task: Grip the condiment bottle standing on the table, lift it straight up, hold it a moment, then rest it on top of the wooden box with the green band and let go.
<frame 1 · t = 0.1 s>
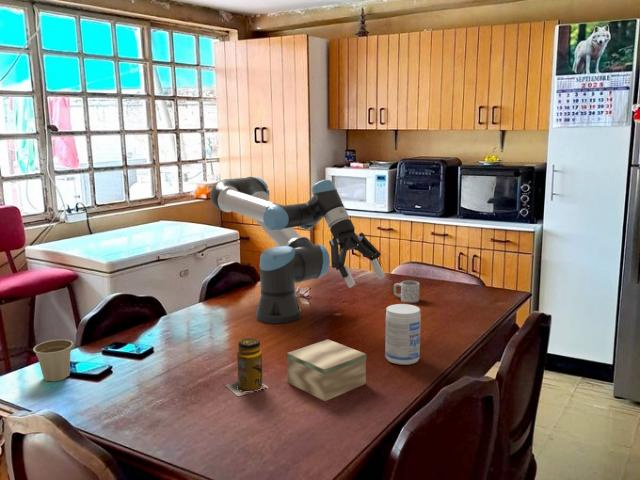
hand: (367, 282, 187), 15 cm above the table, tool tilted 35°, fingers open, 13 cm apart
supplement tub: (402, 359, 165), on the table
mug: (405, 300, 220), on the table
wooden box: (326, 383, 150), on the table
condiment: (247, 388, 148), on the table
flower pot: (56, 377, 154), on the table
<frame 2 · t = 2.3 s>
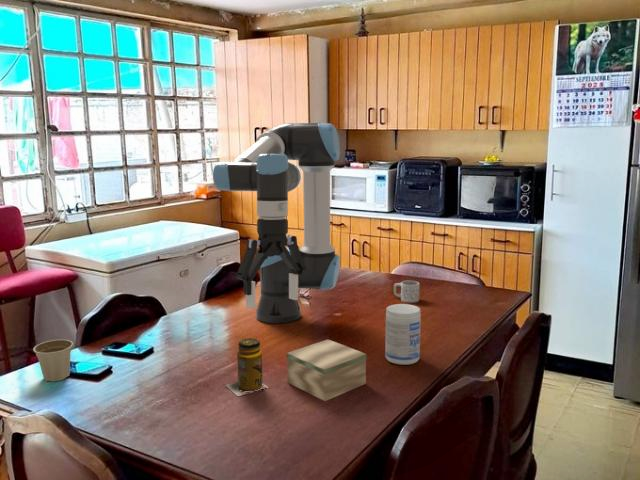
hand: (272, 303, 146), 21 cm above the table, tool pointing down, fingers open, 13 cm apart
nothing on the table moved.
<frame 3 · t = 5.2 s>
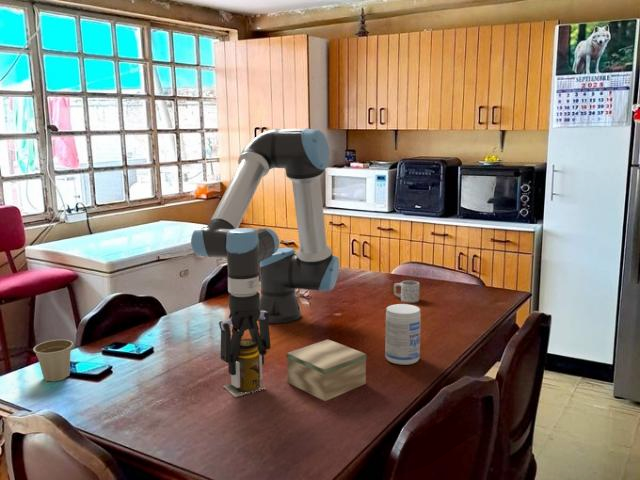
hand: (247, 381, 148), 1 cm above the table, tool pointing down, fingers closed on condiment, 6 cm apart
condiment: (244, 388, 147), on the table, touching gripper
everything else where it was.
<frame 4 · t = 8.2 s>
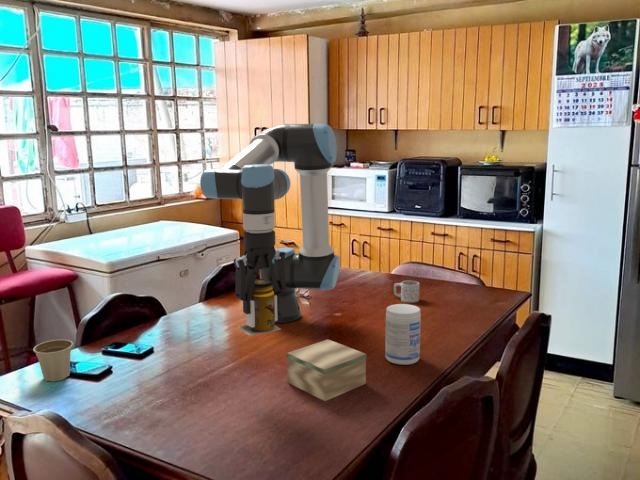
hand: (261, 322, 145), 17 cm above the table, tool pointing down, fingers closed on condiment, 6 cm apart
condiment: (259, 329, 145), point 15 cm above the table, touching gripper
everything else where it was.
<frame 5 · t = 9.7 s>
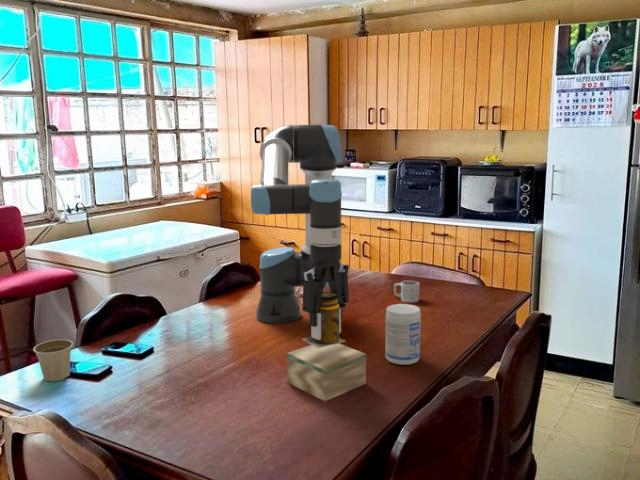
hand: (326, 334, 147), 13 cm above the table, tool pointing down, fingers closed on condiment, 6 cm apart
condiment: (323, 341, 147), point 11 cm above the table, touching gripper
everything else where it was.
when the fingers open (11 cm above the table, at t = 10.8 s): condiment drops 1 cm, resting on wooden box.
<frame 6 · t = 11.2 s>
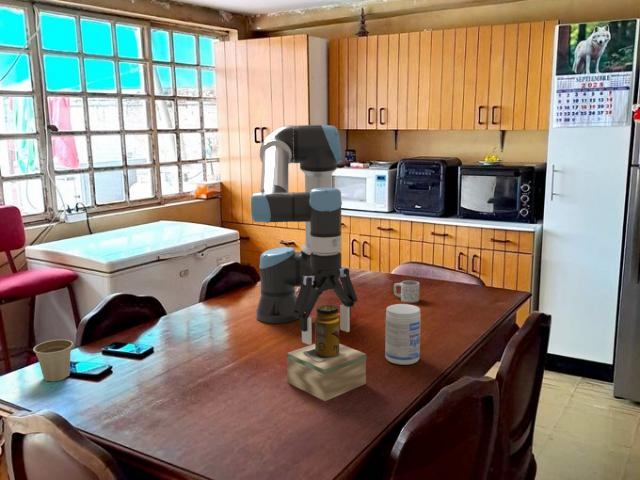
hand: (326, 336, 147), 12 cm above the table, tool pointing down, fingers open, 12 cm apart
condiment: (324, 355, 148), point 8 cm above the table, touching wooden box
everything else where it was.
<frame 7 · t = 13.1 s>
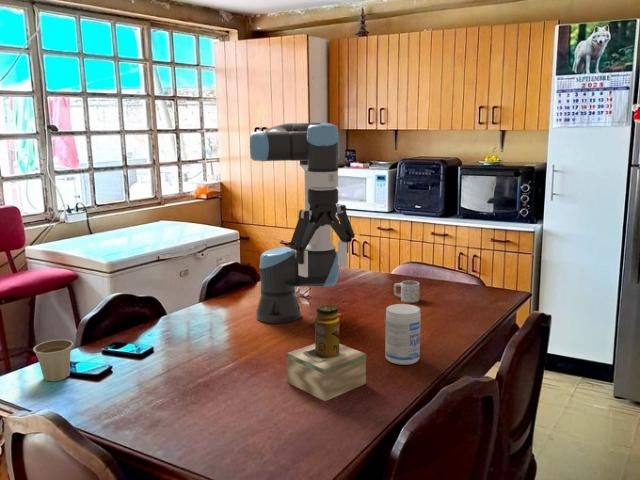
hand: (323, 271, 151), 28 cm above the table, tool pointing down, fingers open, 13 cm apart
nothing on the table moved.
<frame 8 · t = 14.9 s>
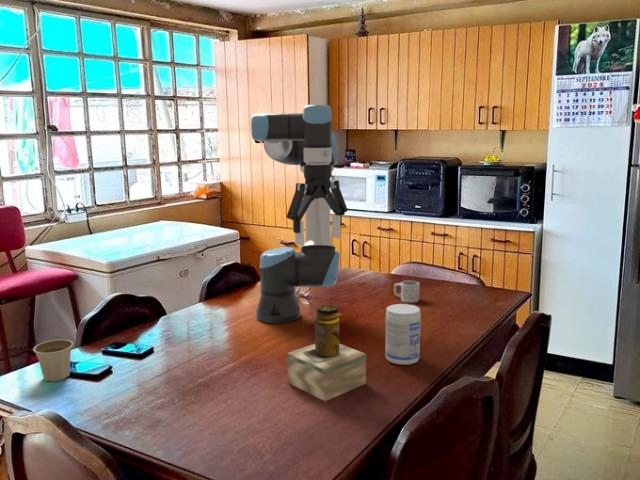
hand: (318, 241, 163), 33 cm above the table, tool pointing down, fingers open, 13 cm apart
nothing on the table moved.
at the end: condiment inside the target area on the wooden box (0.8 cm from its centre), point 7.8 cm above the wooden box's base; condiment tilted 0°; the gripper is holding nothing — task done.
